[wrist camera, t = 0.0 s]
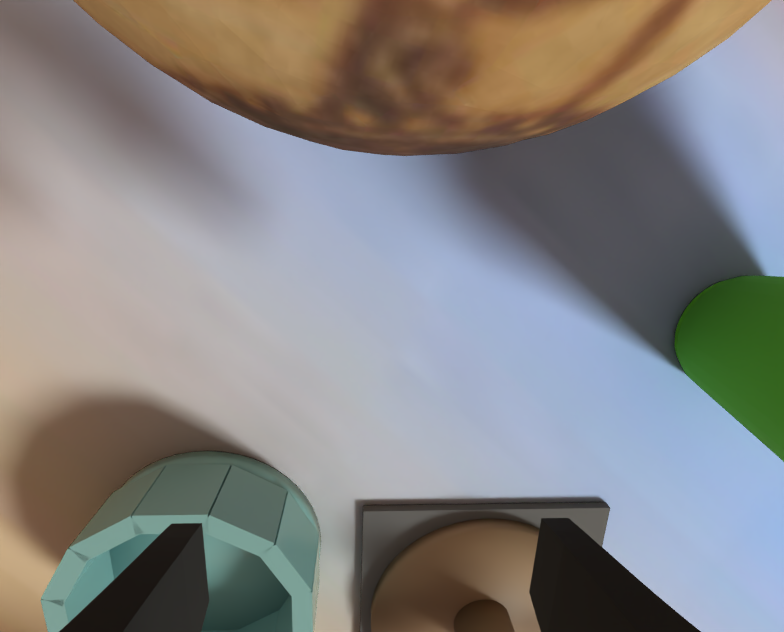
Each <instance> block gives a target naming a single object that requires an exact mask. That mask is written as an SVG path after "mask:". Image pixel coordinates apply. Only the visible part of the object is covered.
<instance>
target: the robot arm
mask: <svg viewBox="0 0 784 632" xmlns="http://www.w3.org/2000/svg"><path fill="white" fill-rule="evenodd" d="M529 593H530V597H531V600H532V604H533V607H534V611H535V614H536V617H537V621H538V624H539V627H540V630H541V632H701V631H699V630H698V629H697V628H695V627H694V626H693V625H692V624H690V623H689V622H688V621H687V620H686V619H684V618H683V617H682V616H681V615H679V614H678V613H677V612H676V611H675V610H673V609H672V608H671V607H670V606H669V605H667V604H666V603H665V602H664V601H663V600H662V599H660V598H659V597H658V596H657V595H656V594H654V593H653V592H652V591H651V590H650V589H649V588H648V587H646V586H645V585H644V584H643V583H642V582H641V581H639V580H638V579H637V578H636V577H635V576H634V575H633V574H631V573H630V572H629V571H628V570H627V569H626V568H625V567H624V566H622V565H621V564H620V563H619V562H618V561H617V560H616V559H615V558H613V557H612V556H611V555H610V554H609V553H608V552H607V551H606V550H604V549H603V548H602V547H601V546H600V545H599V544H598V543H597V542H596V541H594V540H593V539H592V538H591V537H590V536H589V535H588V534H587V533H585V532H584V531H583V530H582V529H581V528H580V527H579V526H577V525H576V524H575V523H574V522H573V521H572V520H570V519H569V518H541V523H540V529H539V535H538V541H537V547H536V553H535V560H534V566H533V572H532V578H531V584H530V590H529ZM208 604H209V592H208V582H207V571H206V560H205V549H204V538H203V528H202V523H174V524H171V525H169V526H168V527H167V528H166V529H165V530H164V531H163V532H162V533H161V534H160V535H159V536H158V537H157V538H156V539H155V540H154V541H153V542H152V543H151V544H150V545H149V546H148V547H147V548H146V549H145V550H144V551H143V552H142V553H141V554H140V555H139V556H138V557H137V558H136V559H135V560H134V561H133V562H132V563H131V564H130V565H129V566H128V567H127V568H125V569H124V570H123V571H122V572H121V573H120V574H119V575H118V576H117V577H116V578H115V579H114V580H113V581H112V582H111V583H110V584H109V585H108V586H107V587H106V588H105V589H104V590H103V591H102V592H101V593H100V594H99V595H98V596H97V597H95V598H94V599H93V600H92V601H91V602H90V603H89V604H88V605H87V606H86V607H85V608H84V609H83V610H82V611H81V612H80V613H79V614H78V615H77V616H75V617H74V618H73V619H72V620H71V621H70V622H69V623H68V624H67V625H66V626H65V627H64V628H62V629H61V630H60V631H59V632H201V630H202V626H203V623H204V619H205V615H206V611H207V608H208Z"/></svg>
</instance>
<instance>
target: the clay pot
mask: <svg viewBox="0 0 784 632" xmlns="http://www.w3.org/2000/svg"><path fill="white" fill-rule="evenodd" d="M74 1H75V2H76V3H77V4H78V5H79V6H80V7H81V8H82V9H83V10H84V11H85V12H87V13H88V14H89V15H90V16H91V17H92V18H93V19H94V20H95V21H96V22H97V23H98V24H100V25H101V26H102V27H104V28H105V29H106V30H107V31H109V32H110V33H111V34H113V35H114V36H115V37H116V38H118V39H119V40H120V41H122V42H123V43H124V44H125V45H127V46H128V47H129V48H131V49H132V50H133V51H134V52H136V53H137V54H138V55H140V56H141V57H142V58H144V59H145V60H146V61H147V62H149V63H150V64H152V65H153V66H155V67H156V68H158V69H159V70H161V71H163V72H164V73H166V74H167V75H169V76H171V77H172V78H174V79H175V80H177V81H179V82H180V83H182V84H183V85H185V86H187V87H188V88H190V89H191V90H193V91H194V92H196V93H198V94H199V95H201V96H202V97H204V98H206V99H207V100H209V101H210V102H212V103H214V104H216V105H219V106H221V107H223V108H225V109H227V110H230V111H232V112H234V113H236V114H238V115H241V116H243V117H245V118H247V119H249V120H252V121H254V122H256V123H258V124H260V125H263V126H265V127H268V128H271V129H274V130H277V131H280V132H283V133H286V134H290V135H293V136H296V137H299V138H302V139H305V140H308V141H311V142H315V143H319V144H323V145H327V146H330V147H334V148H338V149H342V150H349V151H357V152H365V153H373V154H381V155H398V156H412V155H435V154H457V153H463V152H469V151H475V150H481V149H487V148H493V147H499V146H505V145H509V144H512V143H515V142H518V141H521V140H525V139H529V138H534V137H538V136H543V135H547V134H550V133H553V132H556V131H558V130H561V129H564V128H567V127H569V126H572V125H575V124H578V123H580V122H583V121H586V120H588V119H590V118H592V117H594V116H596V115H598V114H600V113H602V112H604V111H607V110H609V109H611V108H613V107H615V106H617V105H619V104H621V103H623V102H625V101H627V100H629V99H631V98H632V97H634V96H636V95H638V94H640V93H642V92H644V91H645V90H647V89H649V88H651V87H653V86H655V85H657V84H658V83H660V82H662V81H664V80H666V79H668V78H670V77H671V76H673V75H675V74H676V73H678V72H679V71H681V70H682V69H684V68H685V67H687V66H688V65H690V64H691V63H693V62H694V61H696V60H697V59H699V58H700V57H702V56H703V55H704V54H706V53H707V52H709V51H710V50H712V49H713V48H715V47H716V46H718V45H719V44H720V43H722V42H723V41H725V40H726V39H728V38H729V37H730V36H731V35H732V34H734V33H735V32H736V31H737V30H738V29H739V28H741V27H742V26H743V25H744V24H745V23H746V22H747V21H749V20H750V19H751V18H752V17H753V16H754V15H755V14H757V13H758V12H759V11H760V10H761V9H762V8H763V7H765V6H766V5H767V4H768V3H769V2H770V1H771V0H74Z"/></svg>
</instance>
